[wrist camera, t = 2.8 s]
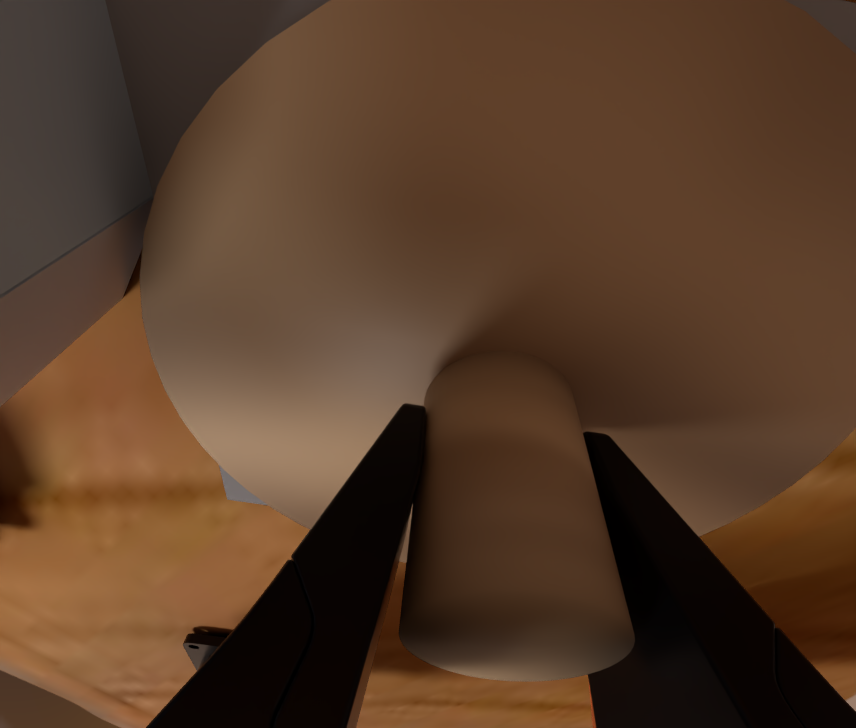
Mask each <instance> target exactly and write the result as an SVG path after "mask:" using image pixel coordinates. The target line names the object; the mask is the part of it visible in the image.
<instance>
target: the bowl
mask: <svg viewBox="0 0 856 728" xmlns="http://www.w3.org/2000/svg"><path fill="white" fill-rule="evenodd" d="M153 200H154V197H153V193H152V189H151V185H150V181H149V177H148V173H147V169H146V165H145V161H144V157H143V152H142V148H141V144H140V140H139V136H138V132H137V128H136V124H135V120H134V116H133V112H132V108H131V103H130V99H129V95H128V91H127V87H126V83H125V79H124V75H123V71H122V67H121V63H120V59H119V54H118V50H117V46H116V42H115V38H114V34H113V30H112V26H111V22H110V18H109V14H108V9H107V5H106V1H105V0H0V407H1V406H2V405H3V404H4V403H5V402H6V401H7V400H9V399H10V398H11V397H12V396H13V395H14V394H15V393H16V392H18V391H19V390H20V389H21V388H22V387H23V386H24V385H25V384H27V383H28V382H29V381H30V380H31V379H32V378H33V377H34V376H36V375H37V374H38V373H39V372H40V371H41V370H42V369H43V368H45V367H46V366H47V365H48V364H49V363H50V362H51V361H53V360H54V359H55V358H56V357H57V356H58V355H59V354H60V353H62V352H63V351H64V350H65V349H66V348H67V347H68V346H69V345H71V344H72V343H73V342H74V341H75V340H76V339H77V338H78V337H80V336H81V335H82V334H83V333H84V332H85V331H86V330H87V329H89V328H90V327H91V326H92V325H93V324H94V323H95V322H96V321H98V320H99V319H100V318H101V317H102V316H103V315H104V314H105V313H107V312H108V311H109V310H110V309H111V308H112V307H113V306H114V305H116V304H117V303H118V302H119V301H120V300H121V299H122V298H123V296H124V293H125V291H126V288H127V286H128V283H129V281H130V278H131V276H132V273H133V271H134V268H135V266H136V263H137V260H138V258H139V255H140V253H141V250H142V248H143V238H144V231H145V228H146V224H147V221H148V217H149V214H150V210H151V207H152V203H153Z"/></svg>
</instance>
